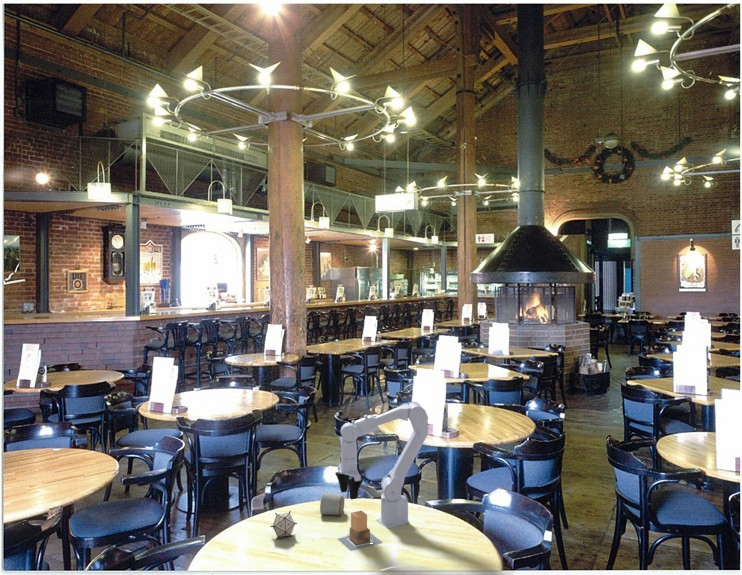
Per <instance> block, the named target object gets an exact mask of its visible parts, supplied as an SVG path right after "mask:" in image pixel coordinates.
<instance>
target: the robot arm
mask: <svg viewBox="0 0 742 575" xmlns="http://www.w3.org/2000/svg"><path fill="white" fill-rule="evenodd" d="M396 420H402V421H405V422H408V420H409V421H410V423H411V427H412V430H413V431H412V433H411V435H410V437H409V439H408V440H407V443H406V444H405V445H404V447H403V450H402V451H401V453H400V454H399V457H398V459H397V461H396V462H395V465H394V466H393V468H392V469H391V470H389V472H388V473H387V475H385V476H383V478H382V479H381V482H380V487H381V489H382V491H383V492H382V494H380V518H376V522H378V523H379V524H381V525H382V526H384V528H386V529H390V528H394V527H398V526H401V525H406V524H410V521H409V504H408V499H407V498H406V496H405V495H402V490H403V489H402V488H403V486H404V485H405V478H406V476H407V474H408V472H409V470H410V469H411V466H412V464H413V463H414V461H415V460H416V459H415V458H416V457H417V455H418V453H419V451H420V450H421V448H422V446H423V444H424V442H425V440H426V438H427V437H428V435H429V423H428V422H429V415H428V414H427V411H426V410H425V409H424V408H423V406H421V404H419V403H418V402H417V401H410V402H409V403H408V404H407V403H404V404H401V405H399V406H397V407H395V408H392V409H390V410H388V411H386V412H383V413H381V414H379V415H376V416H373V415H368V414H364V415H363V417H361V418H359V419H357V420H354V419H353V420H351V422H345V423H344V424H343V425H342V426H341V428H340V435H341V440H340V441H341V444H340V463H339V464H337V472H335V474H334V475H335V476H336V478H337V480H338V484H339V489H340V493H347V492H349V498H350V500H356V499H357V497H358V494H359V491H360V487H361V486H362V483H363V482H364V481H363V480H364V479H363V478H361V477H362V474H360V473H359V470H358V469H357V468H358V453H357V452H358V450H357V449H358V444H357V439H358V438H359V437H362V436H363V437H364V435H367V434H369V433H373V432H375V431H376V430H378V427H379V426H382V425H384V424H387V423H390V422H393V421H396Z"/></svg>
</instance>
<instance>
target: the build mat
mask: <svg viewBox="0 0 742 575" xmlns="http://www.w3.org/2000/svg"><path fill="white" fill-rule="evenodd" d="M337 541H339V542H341V544H342V545H343V546H345V547H346V548H347V550H349V551H350V552H352V551H356V550H360V549H365V548H368V547H371V546H376V545H379V544H383V543H384V542H383V541H382V540H380V539H379V538H378V537H377V536H375V534H373V533H371V532H370V542H368V543H364V544H360V545H356V544H355V543H354V542H352V541H351V540H350V535H348V536H347V535H346V536H343V537H339V538H337ZM370 543H373V544H370Z"/></svg>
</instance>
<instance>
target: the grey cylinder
mask: <svg viewBox="0 0 742 575" xmlns="http://www.w3.org/2000/svg"><path fill="white" fill-rule="evenodd" d="M344 509H345V497H344V496H343V495H341V494H336V493H329V492H323V493H322V494H321V498H320V507H319V511H320V515H327V516H341V515H343V513H344Z"/></svg>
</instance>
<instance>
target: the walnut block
mask: <svg viewBox="0 0 742 575" xmlns="http://www.w3.org/2000/svg"><path fill="white" fill-rule="evenodd" d="M370 533H371V529H370V528H369V527H367V530H364V531H360V532H355V531H354V530H353V529H352V528H351V526H350V527H349V536H350V540H351V541H352V542H354V543H355V544H356V545H360V544H364V543H368V542H370Z"/></svg>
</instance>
